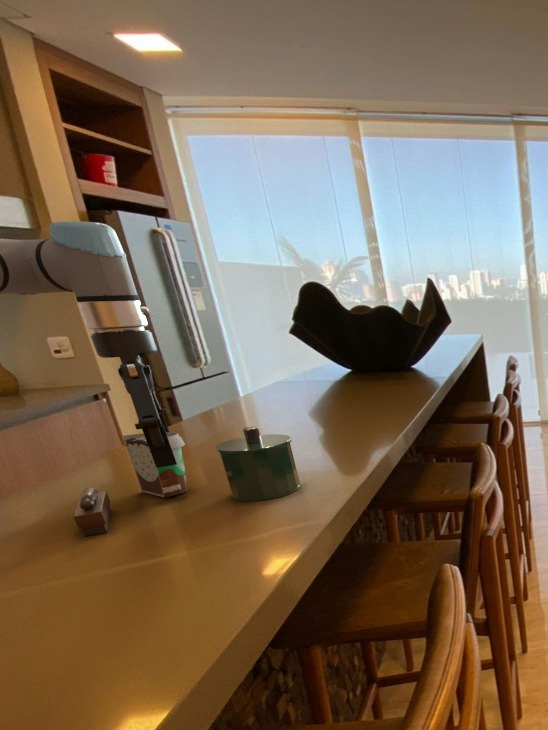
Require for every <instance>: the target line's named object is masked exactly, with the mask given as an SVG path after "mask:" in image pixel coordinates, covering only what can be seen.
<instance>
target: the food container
mask: <svg viewBox="0 0 548 730" xmlns="http://www.w3.org/2000/svg"><path fill="white" fill-rule="evenodd" d="M166 434H167V437H168V440H169V443H170V445H171V448H172V451H173V454H174V457H175V459H176V462H177V464H176V465H170V466H165V467H159V468H156V465H155V463H154V460H153V457H152V455H151V452H150V449H149V446H148V444H147V441H146V438H145V436H144V433H143V432H142V433H133V434H124V435H123V443H124V447H125V448H126V449H127V452H128V455H129V459H130V461H131V464H132V467H133V470H134V473H135V475H136V479H137V482H138V484H139V487H140V491H141V492H142V493H146V494H149V495H154V496H157V497H162V498H167V497H173V496H176V495H180V494H183V493H185V492H187V491H189V485H188V479H187V473H186V467H185V463H184V458H183V451H182V447H184V446H186V443H185V441H184V440H183V438H182V437H181V436H180V434H179V433H178V432H176V431H175V432H173V431H169V432H166Z"/></svg>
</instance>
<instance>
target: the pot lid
mask: <svg viewBox="0 0 548 730" xmlns="http://www.w3.org/2000/svg"><path fill="white" fill-rule="evenodd" d="M242 432H243V437H238V438H233V439H229V440H225V441H222V442H220V443H217V445H215V451H216V453H219V454H220V453H226V454H241V453H252V452H260V451H265V450H270V449H275V448H278V447H282V446H284V445H287V444H289V443H290V444H291V443H292V437H291V436H289V435H286V434H277V433H276V434H274V433H273V434H272V433H270V434H261V433H260V430H259V426H247V427H243V428H242Z"/></svg>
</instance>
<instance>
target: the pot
mask: <svg viewBox="0 0 548 730" xmlns="http://www.w3.org/2000/svg"><path fill="white" fill-rule="evenodd" d="M219 454H220V455H219V456H220V458H221V462H222V465H223V469H224V472H225V475H226V479H227V482H228V485H229V489H230V492H231V495H232V498H233V500H235V501H239V502H261V501H268V500H273V499H279V498H282V497H286V496H288V495H291V494H294V493H295V492H297V491H298V490H299V489H300V488H301V481H300V477H299V472H298V469H297V466H296V461H295V457H294V453H293V449H292V446H291V442H290V443H289V444H287V445H284V446H282V447H278V448H275V449H270V450H265V451H260V452H252V453H241V454H226V453H220V452H219Z"/></svg>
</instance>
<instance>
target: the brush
mask: <svg viewBox="0 0 548 730" xmlns="http://www.w3.org/2000/svg"><path fill="white" fill-rule="evenodd" d="M77 502H78V503H77V506H76V508H75V511H74V515H73V519H74V521H75V523H76V526H77V529H78V530H81V529H82V532H83V534H84V537H90V536H95V535H101V534H106V533H108V528H109V524H110V517H111V512H112V509H111V508H110V505H111V500H110V497H109V495H108V493H107V490H102V491H98V489H96V488H95V487H92V486H91V487H90V486H89V487H86V488H85V489H84V490H83V492H82V494H80V497H79V500H78V501H77Z"/></svg>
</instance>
